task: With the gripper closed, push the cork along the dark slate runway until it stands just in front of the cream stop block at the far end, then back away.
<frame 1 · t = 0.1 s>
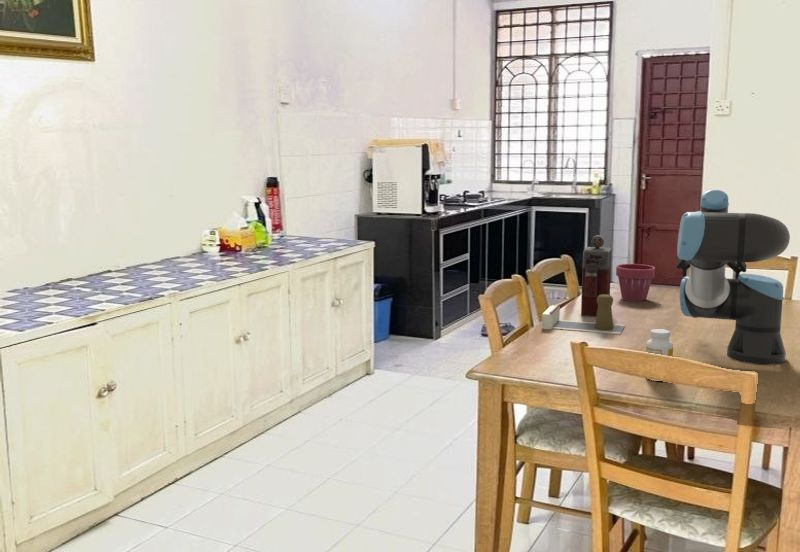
hand: (710, 283, 253), 15 cm above the table, tool tilted 35°, fingers open, 13 cm apart
cork: (603, 328, 259), resting on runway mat
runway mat: (588, 327, 261), on the table
stop block: (550, 324, 266), on the table
plant pot: (634, 299, 305), on the table
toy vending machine: (594, 315, 280), on the table
supplement bottle: (658, 379, 206), on the table
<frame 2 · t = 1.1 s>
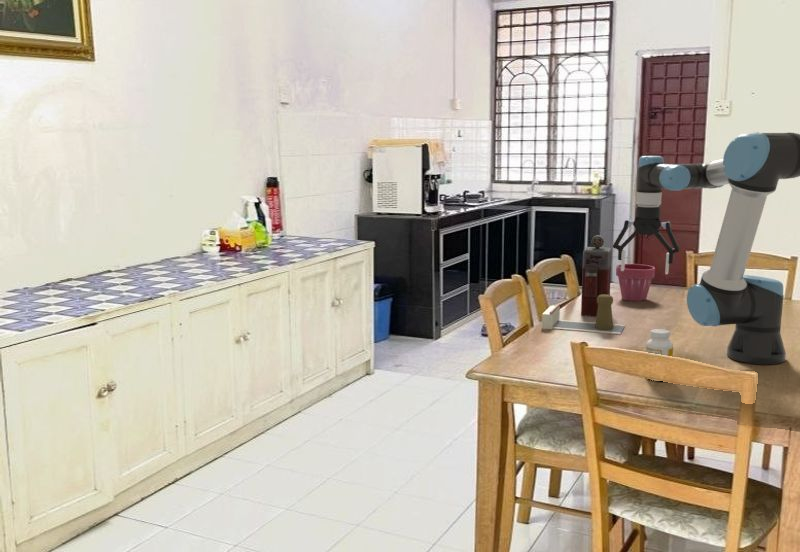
hand: (644, 272, 252), 19 cm above the table, tool pointing down, fingers open, 13 cm apart
nothing on the table moved.
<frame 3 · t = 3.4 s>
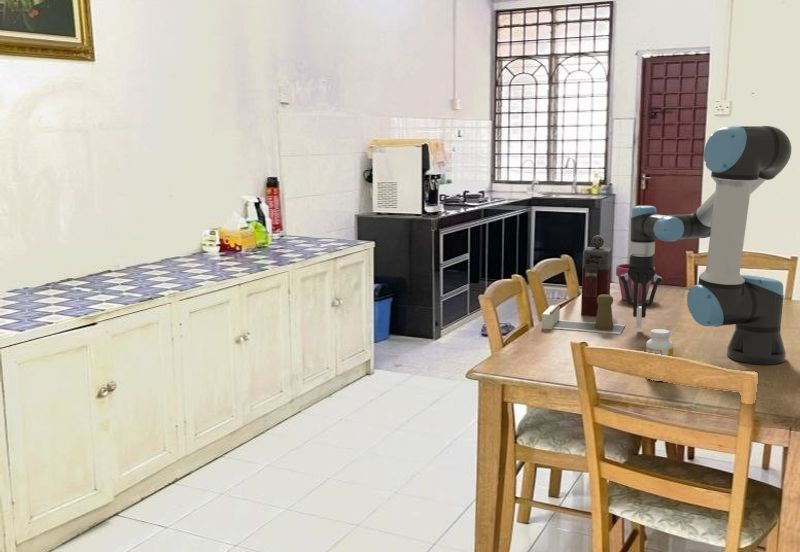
hand: (638, 326, 255), 2 cm above the table, tool pointing down, fingers closed
nothing on the table moved.
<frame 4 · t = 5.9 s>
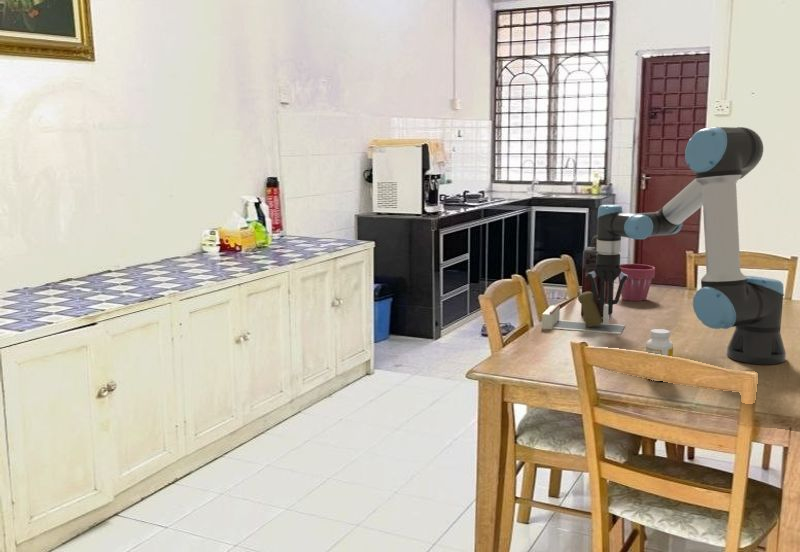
hand: (605, 323, 259), 2 cm above the table, tool pointing down, fingers closed
cork: (594, 324, 260), point 1 cm above the table, touching gripper, hand
everything else where it was.
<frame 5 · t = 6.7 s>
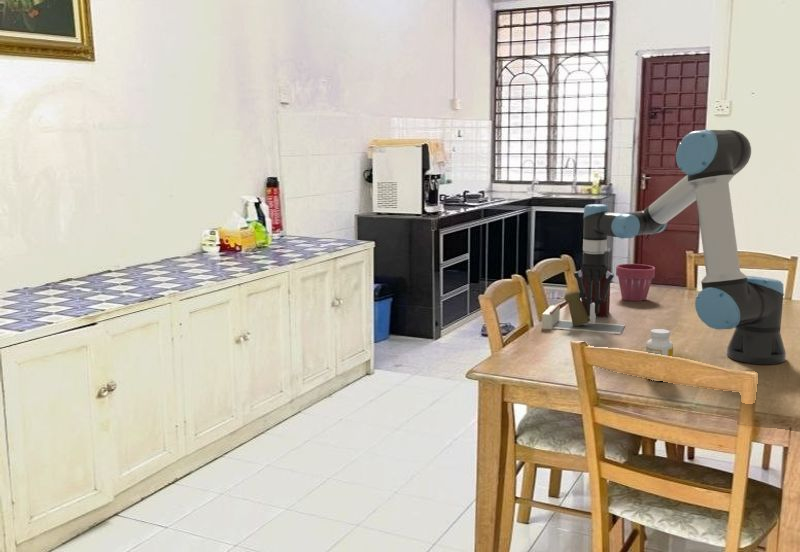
hand: (592, 322, 260), 2 cm above the table, tool pointing down, fingers closed
cork: (581, 323, 262), point 1 cm above the table, touching gripper
everything else where it was.
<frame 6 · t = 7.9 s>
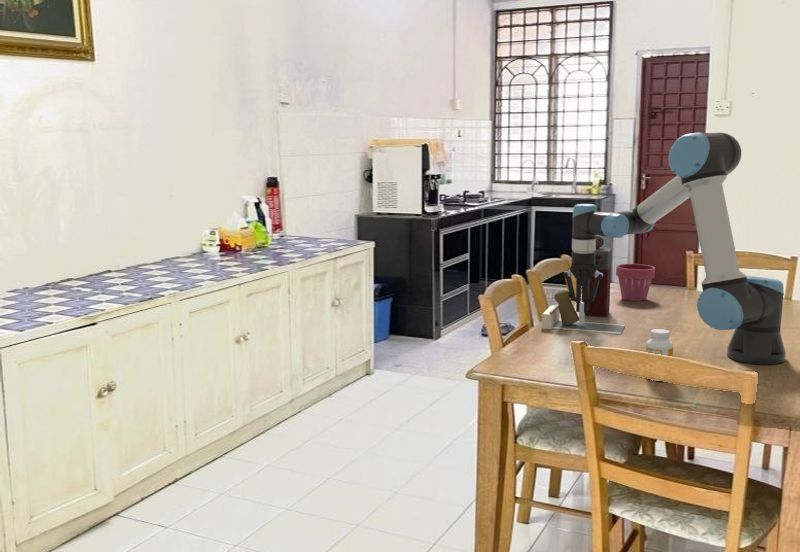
hand: (581, 321, 262), 2 cm above the table, tool pointing down, fingers closed
cork: (571, 322, 263), point 1 cm above the table, touching gripper, hand, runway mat
everything else where it was.
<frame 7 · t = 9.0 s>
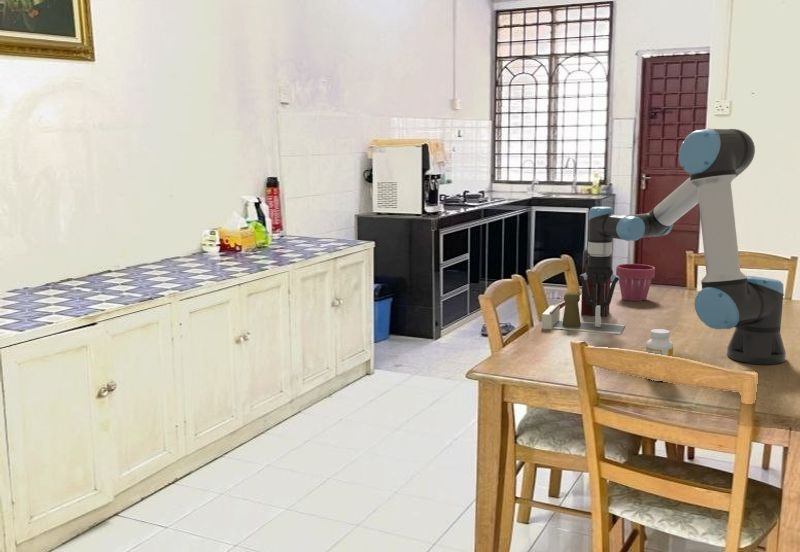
hand: (597, 325, 259), 1 cm above the table, tool pointing down, fingers closed
cork: (571, 325, 263), resting on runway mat
everything else where it was.
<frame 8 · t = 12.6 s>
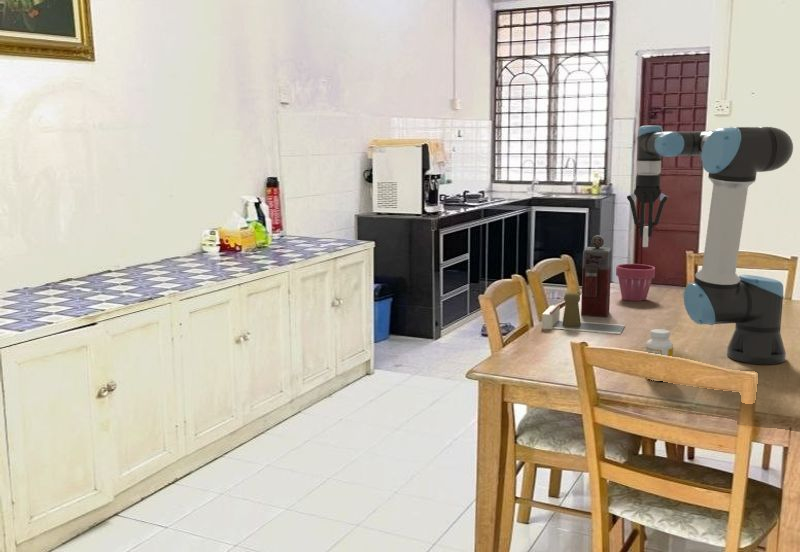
hand: (645, 246, 259), 26 cm above the table, tool pointing down, fingers closed
nothing on the table moved.
at the end: cork inside the target area (0.8 cm from its centre), resting on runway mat; cork tilted 0°; cork touching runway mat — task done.
